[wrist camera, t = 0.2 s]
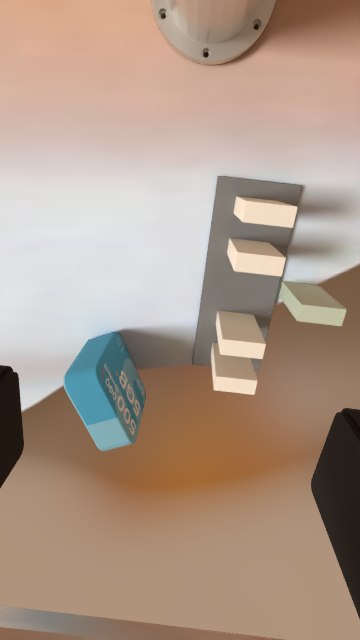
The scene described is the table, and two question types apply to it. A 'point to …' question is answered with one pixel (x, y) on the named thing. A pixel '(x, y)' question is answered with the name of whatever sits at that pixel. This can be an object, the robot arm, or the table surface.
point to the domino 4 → (232, 373)
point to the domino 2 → (255, 257)
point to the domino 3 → (239, 335)
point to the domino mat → (220, 278)
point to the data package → (106, 391)
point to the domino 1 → (265, 212)
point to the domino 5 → (311, 304)
